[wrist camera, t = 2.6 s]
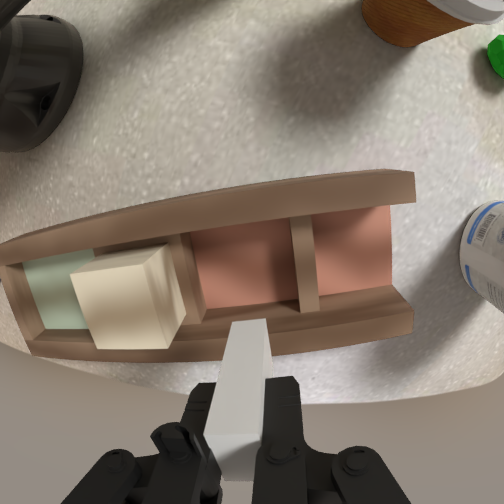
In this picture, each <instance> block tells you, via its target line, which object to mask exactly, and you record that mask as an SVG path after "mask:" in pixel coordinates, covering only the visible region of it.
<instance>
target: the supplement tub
mask: <svg viewBox="0 0 504 504" xmlns="http://www.w3.org/2000/svg"><path fill="white" fill-rule="evenodd" d="M459 257H460V266H461V270H462V274H463V277H464V279H465V281H466V282H467V284H468V285H469V286H470V287H471V288H472V289H473V290H474V291H476V292H477V293H478V294H480V295H481V296H482V297H483V298H485V299H486V300H487V301H489V302H490V303H491V304H493V305H494V306H495V307H496V308H498V309H499V310H500V311H501V312H503V313H504V201H500V200H494V201H490V202H487V203H485V204H483V205H482V206H480V207H479V208H478V209H477V210H476V211H475V212H474V213H473V215H472V216H471V218H470V219H469V221H468V223H467V225H466V227H465V229H464V232H463V235H462V239H461V244H460V253H459Z"/></svg>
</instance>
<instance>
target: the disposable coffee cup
mask: <svg viewBox="0 0 504 504" xmlns="http://www.w3.org/2000/svg"><path fill="white" fill-rule="evenodd" d="M362 14H363V17H364V19H365V21H366V23H367V24H368V26H369V27H370V28H371V30H372V31H373V32H374V33H375V34H376V35H378V36H379V37H380V38H382V39H383V40H385V41H386V42H388V43H391V44H393V45H396V46H400V47H413V46H416V45H418V44H420V43H423V42H425V41H428V40H430V39H433V38H436V37H438V36H441V35H444V34H446V33H449V32H452V31H455V30H458V29H461V28H464V27H467V26H471V25H473V24H485V25H491V24H495V23H498V22H499V21H501V20H502V19H503V18H504V0H363V3H362Z"/></svg>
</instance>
